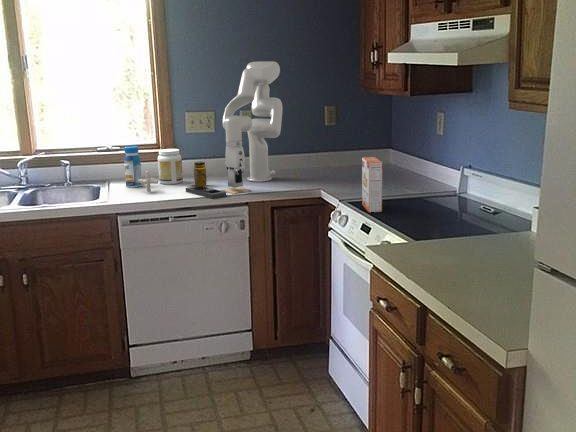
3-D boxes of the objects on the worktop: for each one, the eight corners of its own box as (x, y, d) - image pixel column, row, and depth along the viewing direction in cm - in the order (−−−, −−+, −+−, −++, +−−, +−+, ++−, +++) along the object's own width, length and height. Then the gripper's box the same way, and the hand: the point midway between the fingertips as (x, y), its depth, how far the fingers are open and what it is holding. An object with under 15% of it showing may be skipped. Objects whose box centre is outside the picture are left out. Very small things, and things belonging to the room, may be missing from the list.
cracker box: (361, 205, 279) (361, 156, 274) (375, 204, 280) (375, 156, 275) (367, 213, 266) (368, 162, 261) (382, 212, 266) (383, 161, 261)
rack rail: (199, 189, 319) (199, 185, 318) (226, 196, 303) (226, 191, 302) (185, 191, 314) (185, 187, 313) (212, 198, 298) (212, 194, 297)
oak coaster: (237, 188, 320) (237, 186, 320) (250, 190, 313) (250, 189, 313) (221, 191, 314) (221, 189, 314) (233, 194, 307) (233, 192, 307)
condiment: (209, 186, 327) (208, 162, 324) (194, 188, 323) (193, 164, 320) (203, 183, 333) (202, 160, 330) (188, 185, 329) (186, 162, 326)
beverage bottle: (143, 186, 328) (140, 147, 323) (126, 188, 326) (123, 148, 321) (141, 183, 336) (139, 145, 331) (125, 185, 333) (121, 146, 329)
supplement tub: (179, 179, 346) (177, 147, 342) (186, 183, 335) (184, 150, 331) (156, 181, 341) (154, 149, 337) (162, 185, 330) (160, 152, 326)
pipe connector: (163, 190, 319) (161, 169, 317) (152, 194, 310) (151, 173, 308) (145, 189, 322) (143, 169, 320) (134, 193, 313) (132, 172, 311)
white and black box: (236, 184, 316) (235, 168, 314) (242, 186, 313) (242, 169, 311) (228, 186, 313) (227, 169, 311) (234, 187, 310) (233, 170, 308)
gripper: (251, 144, 304) (252, 183, 309) (229, 141, 317) (231, 178, 321) (238, 146, 300) (240, 185, 304) (217, 143, 312) (218, 180, 316)
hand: (235, 181), depth 312 cm, fingers closed on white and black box, 5 cm apart
